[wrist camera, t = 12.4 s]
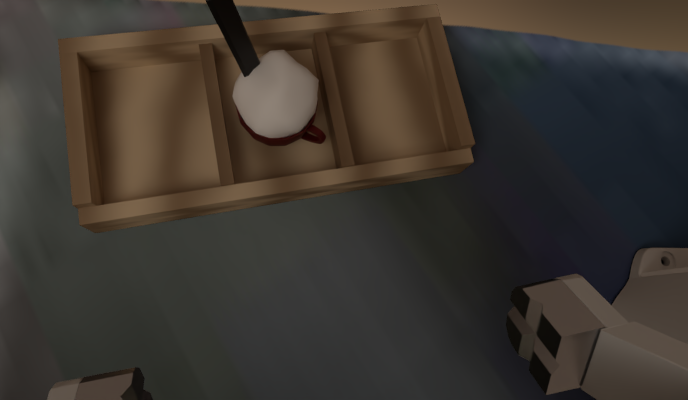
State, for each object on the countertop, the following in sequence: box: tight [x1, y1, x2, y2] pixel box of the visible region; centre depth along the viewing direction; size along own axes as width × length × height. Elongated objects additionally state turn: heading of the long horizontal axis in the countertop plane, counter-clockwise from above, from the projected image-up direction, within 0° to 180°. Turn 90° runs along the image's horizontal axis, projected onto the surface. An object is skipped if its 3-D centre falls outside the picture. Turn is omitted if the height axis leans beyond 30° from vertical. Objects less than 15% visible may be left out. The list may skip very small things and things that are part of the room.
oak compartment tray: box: [58, 4, 475, 233], centre depth 39 cm, size 30×14×4 cm, turn 101°
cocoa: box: [206, 0, 326, 146], centre depth 35 cm, size 10×6×12 cm, turn 32°
